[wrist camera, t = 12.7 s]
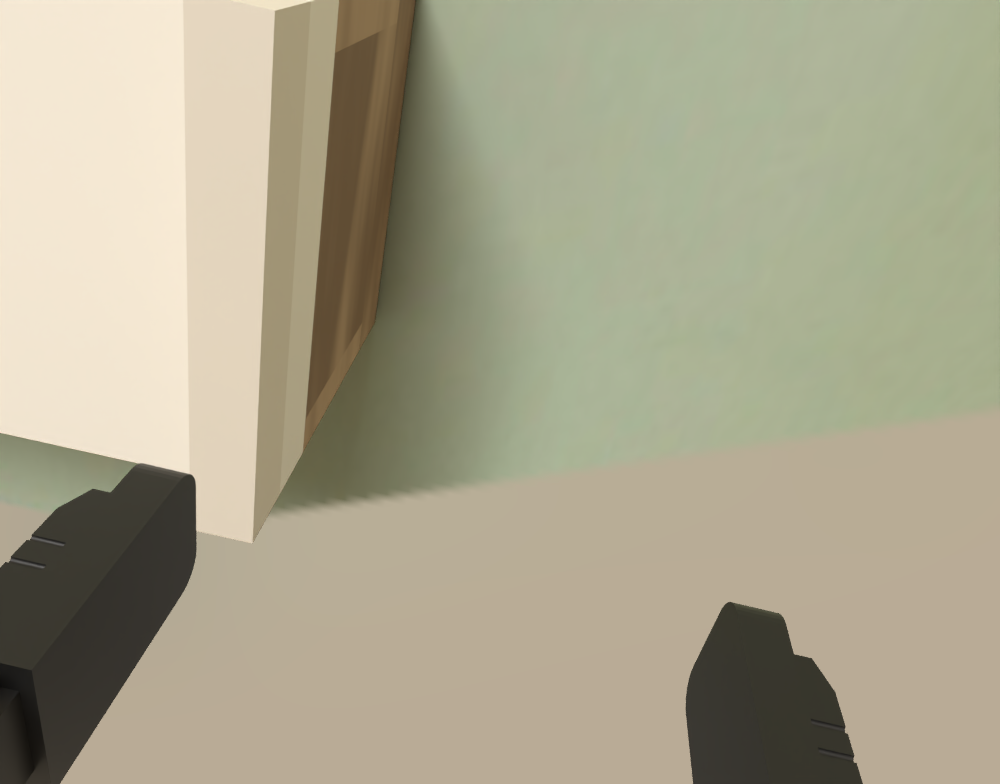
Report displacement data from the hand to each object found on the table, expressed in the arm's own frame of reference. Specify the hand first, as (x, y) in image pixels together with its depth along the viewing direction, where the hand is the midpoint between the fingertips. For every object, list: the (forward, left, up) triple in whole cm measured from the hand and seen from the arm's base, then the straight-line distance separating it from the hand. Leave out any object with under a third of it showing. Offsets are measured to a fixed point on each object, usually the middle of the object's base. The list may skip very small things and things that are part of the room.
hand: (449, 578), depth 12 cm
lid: (-11, 0, -10) cm, 14 cm away
